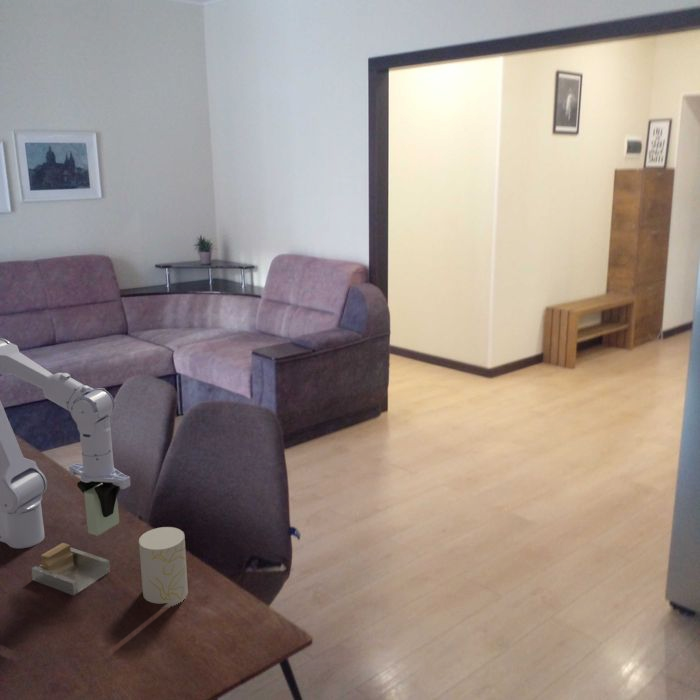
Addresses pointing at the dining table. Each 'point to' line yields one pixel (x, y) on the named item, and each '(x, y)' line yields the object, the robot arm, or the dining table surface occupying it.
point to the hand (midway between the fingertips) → (102, 513)
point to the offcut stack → (57, 559)
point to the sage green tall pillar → (98, 513)
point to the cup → (163, 566)
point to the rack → (74, 573)
